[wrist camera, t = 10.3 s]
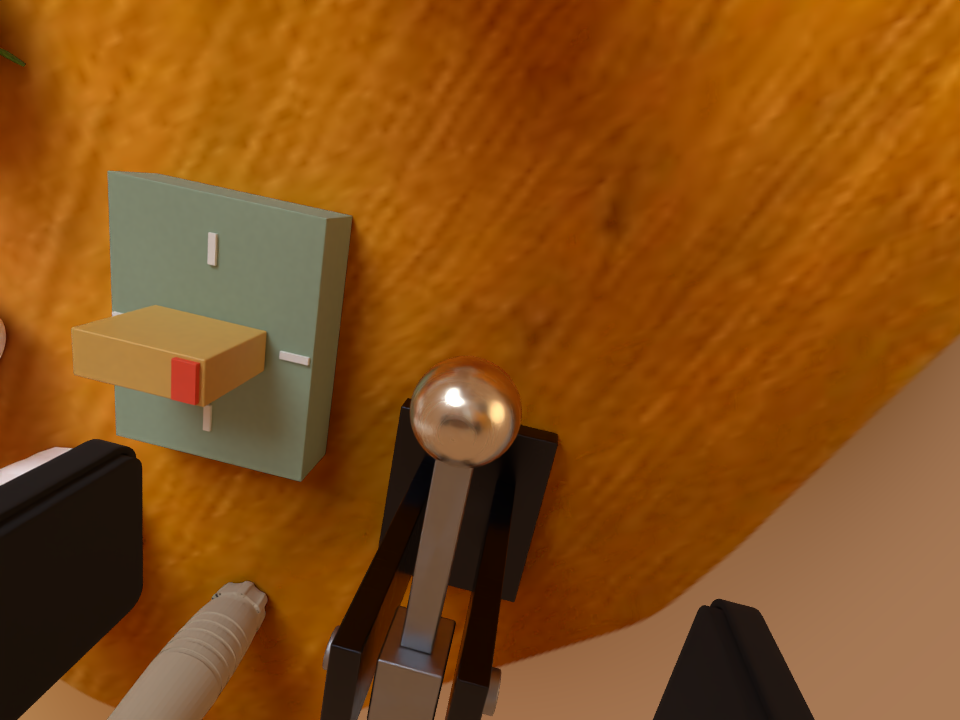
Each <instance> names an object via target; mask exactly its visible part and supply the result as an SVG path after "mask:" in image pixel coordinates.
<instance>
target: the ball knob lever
mask: <svg viewBox="0 0 960 720" xmlns="http://www.w3.org/2000/svg"><path fill="white" fill-rule="evenodd" d="M521 419H522V406H521V399H520V396H519V393H518V390H517V388H516V386H515V384H514V382H513V381H512V379H511V378H510V377H509V375H508V374H507V373H506V372H505V371H504V370H503V369H501V368H500V367H499V366H497V365H496V364H494V363H492V362H490V361H488V360H486V359H483V358H479V357H474V356H457V357H453V358H449V359H446V360H444V361H442V362H440V363H438V364H436V365H435V366H433V367H432V368H431V369H429V370H428V371H427V372H426V373H425V374H424V375H423V377H422V378H421V379H420V381H419V382H418V384H417V386H416V388H415V390H414V392H413V395H412V399H411V404H410V420H411V426H412V429H413V433H414V435H415V437H416V439H417V441H418V442H419V444H420V445H421V447H422V448H423V449H424V450H425V451H426V452H427V453H428V454H429V455H430V456H431V457H433V458H434V459H435V465H434V470H433V476H432V481H431V486H430V491H429V496H428V502H427V507H426V512H425V517H424V523H423V528H422V533H421V538H420V543H419V549H418V554H417V559H416V564H415V569H414V575H413V580H412V585H411V590H410V595H409V601H408V606H407V608H406V607H402V606H398V607H397V609H396V612H395V614H394V617H393V620H392V622H391V625H390V627H389V630H388V633H387V635H386V638H385V641H384V643H383V646H382V648H381V651H380V654H379V656H378V659H377V664H376V670H375V675H374V681H373V687H372V692H371V698H370V704H369V709H368V716H367V720H434V717H435V712H436V708H437V704H438V699H439V695H440V691H441V687H442V682H443V678H444V674H445V669H446V665H447V661H448V656H449V652H450V647H451V643H452V639H453V634H454V630H455V626H456V622H455V621H454V620H451V619H447V618H443V617H441V615H442V610H443V606H444V601H445V597H446V592H447V587H448V583H449V578H450V574H451V569H452V565H453V560H454V556H455V551H456V547H457V542H458V537H459V533H460V528H461V524H462V519H463V515H464V510H465V506H466V501H467V497H468V492H469V487H470V483H471V478H472V474H473V469H474V468H475V467H480V466H484V465H486V464H489V463H491V462H493V461H494V460H496V459H498V458H499V457H500V456H501V455H503V454H504V453H505V452H506V451H507V450H508V449H509V447H510V446H511V445H512V443H513V442H514V440H515V438H516V436H517V434H518V431H519V428H520V425H521Z"/></svg>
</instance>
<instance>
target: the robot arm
mask: <svg viewBox="0 0 960 720" xmlns="http://www.w3.org/2000/svg"><path fill="white" fill-rule="evenodd" d="M142 587H143V531H142V464H141V462H140V460H139V459H137V458H136V454H135V452H134V450H133V449H131V448H130V447H127V446H123V445H119V444H115V443H111V442H107V441H104V440H100V439H92V440H90V441H87V442H85V443H83V444H81V445H79V446H77V447H75V448H73V449H71V450H69V451H67V452H65V453H63V454H61V455H59V456H57V457H55V458H53V459H51V460H49V461H47V462H46V463H44V464H42V465H40V466H38V467H36V468H34V469H32V470H30V471H28V472H26V473H24V474H22V475H20V476H18V477H16V478H14V479H12V480H10V481H8V482H6V483H4V484H2V485H1V486H0V720H17V719H18V718H19V717H20V716H21V715H23V714H24V713H25V712H26V710H28V709H29V708H30V707H31V706H32V705H33V704H34V703H35V702H36V701H37V700H38V699H39V698H40V697H41V696H42V695H43V694H44V693H45V692H46V691H47V690H49V689H50V688H51V687H52V686H53V685H54V684H55V683H56V682H57V681H58V680H59V679H60V678H61V677H62V676H63V675H64V674H65V673H66V672H67V671H68V670H69V669H70V668H71V667H72V666H73V665H74V664H75V663H77V662H78V661H79V660H80V659H81V658H82V657H83V656H84V655H85V654H86V653H87V652H88V651H89V650H90V649H91V648H92V647H93V646H94V645H95V644H96V643H97V642H98V641H99V640H100V639H101V638H102V637H104V636H105V635H106V634H107V633H108V632H109V631H110V630H111V629H112V628H113V627H114V626H115V625H116V624H117V623H118V622H119V621H120V620H121V619H122V618H123V617H124V616H125V615H126V614H127V613H128V612H129V611H130V610H131V609H132V608H133V607H134V606H135V604H136V603H137V601H138V599H139V597H140V595H141V592H142ZM653 720H814V718H813V715H812V714H811V712H810V710H809V708H808V706H807V704H806V702H805V700H804V698H803V696H802V694H801V692H800V690H799V688H798V686H797V684H796V682H795V680H794V678H793V676H792V674H791V672H790V670H789V668H788V666H787V664H786V662H785V660H784V658H783V656H782V654H781V652H780V650H779V648H778V646H777V644H776V642H775V640H774V638H773V636H772V634H771V632H770V631H769V628H768V626H767V624H766V622H765V620H764V618H763V616H762V615H761V613H760V612H759V610H757V609H755V608H753V607H749V606H745V605H741V604H737V603H733V602H730V601H726V600H722V599H716V600H714V601H713V602H712V604H711V606H710V607H709V606H706V605H704V606H701V607H700V608H699V610H698V612H697V614H696V617H695V619H694V621H693V624H692V626H691V629H690V631H689V633H688V636H687V638H686V641H685V643H684V646H683V648H682V650H681V653H680V655H679V658H678V660H677V663H676V665H675V667H674V670H673V672H672V675H671V677H670V680H669V682H668V684H667V687H666V689H665V692H664V694H663V696H662V699H661V701H660V704H659V706H658V709H657V711H656V713H655V716H654V718H653Z"/></svg>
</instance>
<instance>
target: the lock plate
mask: <svg viewBox="0 0 960 720" xmlns="http://www.w3.org/2000/svg"><path fill="white" fill-rule="evenodd" d="M108 196H109V227H110V258H111V289H112V317H113V316H116V315H120V314H124V313H127V312H131V311H135V310H138V309H142V308H146V307H149V306H153V305H158V306H163V307H167V308H171V309H175V310H179V311H184V312H188V313H192V314H196V315H200V316H205V317H209V318H213V319H217V320H221V321H226V322H230V323H234V324H238V325H243V326H247V327H251V328H255V329H259V330H264V331H266V332H267V335H266V349H265V363H264V371H263V372H261V373H259V374H258V375H256V376H254V377H253V378H251V379H249V380H248V381H246V382H244V383H243V384H241V385H240V386H238V387H236V388H235V389H233V390H231V391H230V392H228V393H226V394H225V395H223V396H221V397H220V398H218V399H216V400H215V401H213V402H211V403H210V404H208V405H206V406H205V407H201V406H197V405H191V404H187V403H183V402H179V401H175V400H171V399H169V398H165V397H161V396H157V395H153V394H149V393H145V392H141V391H137V390H133V389H129V388H125V387H121V386H117V385H115V412H116V435H118V436H122V437H126V438H130V439H134V440H138V441H142V442H146V443H150V444H154V445H158V446H162V447H166V448H170V449H174V450H178V451H181V452H185V453H189V454H193V455H197V456H201V457H205V458H209V459H213V460H217V461H221V462H225V463H229V464H233V465H237V466H241V467H244V468H248V469H252V470H256V471H260V472H264V473H268V474H272V475H276V476H280V477H284V478H288V479H292V480H296V481H300V482H301V481H302V480H303V479H304V478H305V477H306V475H307V474H308V473H309V472H310V471H311V470H312V469H313V468H314V466H315V465H316V464H317V463H318V462H319V461H320V460H321V458H322V457H323V456H324V455H325V453H326V445H327V436H328V427H329V418H330V409H331V401H332V392H333V383H334V374H335V366H336V357H337V348H338V339H339V330H340V322H341V313H342V304H343V295H344V287H345V278H346V269H347V260H348V251H349V243H350V234H351V225H352V216H351V215H346V214H341V213H337V212H332V211H328V210H323V209H318V208H314V207H309V206H305V205H300V204H295V203H291V202H286V201H281V200H277V199H272V198H268V197H263V196H258V195H254V194H249V193H245V192H240V191H235V190H231V189H226V188H221V187H217V186H212V185H208V184H203V183H198V182H194V181H189V180H185V179H180V178H175V177H171V176H166V175H162V174H156V173H139V172H121V171H108Z"/></svg>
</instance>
